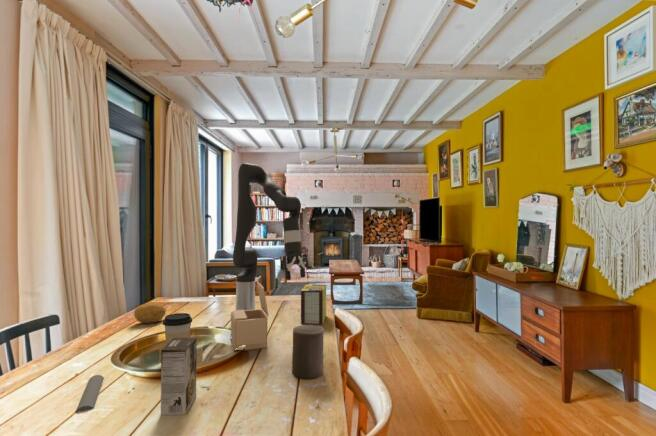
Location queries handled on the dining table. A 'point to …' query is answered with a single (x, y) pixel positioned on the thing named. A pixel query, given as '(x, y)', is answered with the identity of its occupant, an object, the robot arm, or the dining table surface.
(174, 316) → the coffee cup
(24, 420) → the dining table surface
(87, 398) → the gray half cylinder
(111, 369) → the dining table surface
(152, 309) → the potato
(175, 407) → the coffee box
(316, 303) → the protein box
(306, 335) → the pillar candle
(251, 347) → the carton
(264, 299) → the flap
